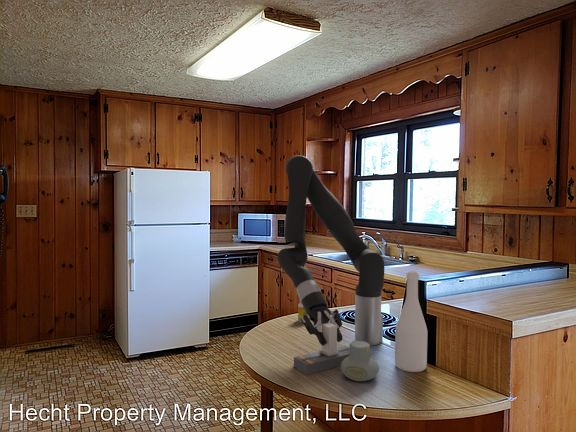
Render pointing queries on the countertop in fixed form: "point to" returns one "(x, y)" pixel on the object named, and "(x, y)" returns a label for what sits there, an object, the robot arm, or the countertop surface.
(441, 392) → the countertop surface
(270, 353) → the countertop surface
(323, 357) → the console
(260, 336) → the countertop surface
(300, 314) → the supplement bottle
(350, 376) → the air freshener
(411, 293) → the wine bottle
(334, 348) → the fader tab
